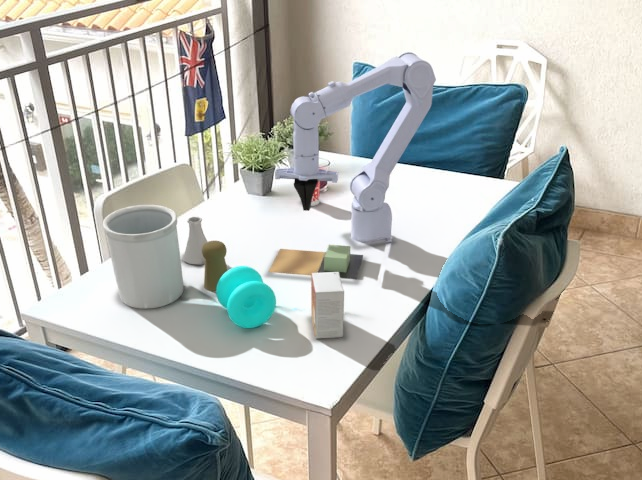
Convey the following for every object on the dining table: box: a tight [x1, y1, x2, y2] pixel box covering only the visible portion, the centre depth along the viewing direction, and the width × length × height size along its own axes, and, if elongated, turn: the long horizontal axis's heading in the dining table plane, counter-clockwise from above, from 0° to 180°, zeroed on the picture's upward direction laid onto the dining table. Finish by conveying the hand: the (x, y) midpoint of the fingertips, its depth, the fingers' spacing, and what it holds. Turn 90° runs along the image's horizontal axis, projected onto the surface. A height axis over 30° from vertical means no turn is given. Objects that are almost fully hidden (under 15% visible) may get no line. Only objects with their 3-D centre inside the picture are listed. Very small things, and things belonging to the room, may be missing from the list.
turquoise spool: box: [215, 265, 277, 329], centre depth 140 cm, size 10×10×10 cm
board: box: [268, 248, 364, 280], centre depth 160 cm, size 20×12×1 cm, turn 79°
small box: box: [310, 272, 345, 340], centre depth 136 cm, size 8×6×10 cm
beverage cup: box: [311, 181, 321, 207], centre depth 189 cm, size 6×6×14 cm
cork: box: [202, 240, 229, 293], centre depth 150 cm, size 6×6×11 cm
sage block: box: [323, 244, 352, 272], centre depth 158 cm, size 5×6×4 cm
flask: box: [182, 216, 208, 265], centre depth 162 cm, size 7×7×10 cm
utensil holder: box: [102, 204, 185, 310], centre depth 147 cm, size 15×15×18 cm
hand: (306, 209), depth 165 cm, fingers closed
